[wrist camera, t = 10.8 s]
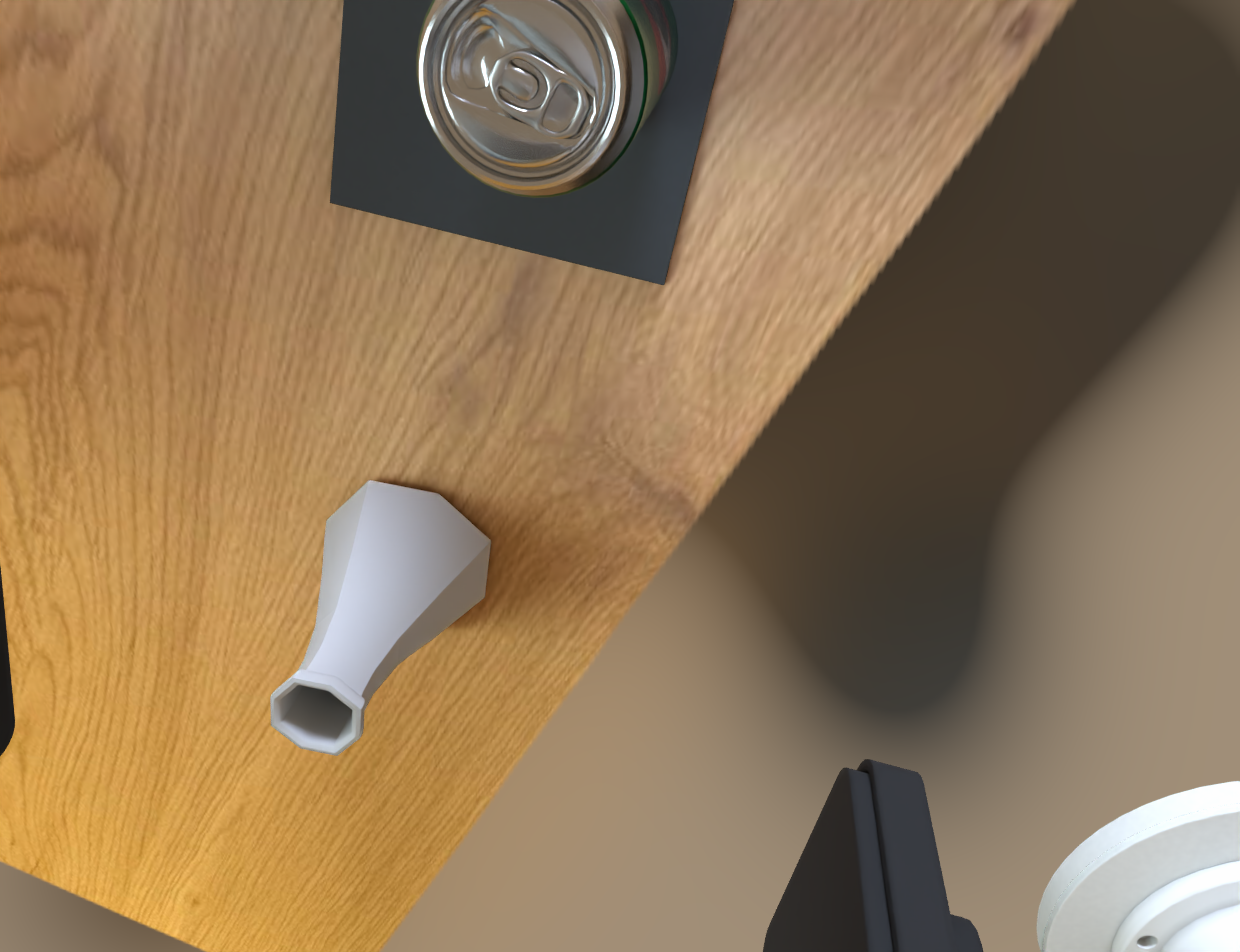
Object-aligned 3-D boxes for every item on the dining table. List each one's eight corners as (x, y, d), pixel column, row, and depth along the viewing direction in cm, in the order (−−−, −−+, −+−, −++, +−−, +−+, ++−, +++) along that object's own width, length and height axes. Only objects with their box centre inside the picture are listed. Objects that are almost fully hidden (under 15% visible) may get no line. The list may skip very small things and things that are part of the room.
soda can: (562, -84, 29) (457, -111, 18) (709, 6, 30) (689, 28, 19) (493, 76, 31) (365, 134, 21) (631, 156, 32) (574, 251, 21)
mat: (760, -107, 28) (760, -108, 28) (664, 283, 34) (664, 285, 34) (360, -206, 28) (358, -207, 28) (331, 201, 34) (329, 202, 34)
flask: (302, 578, 42) (184, 742, 33) (358, 449, 39) (243, 591, 30) (453, 651, 43) (378, 829, 34) (521, 530, 39) (456, 692, 31)
